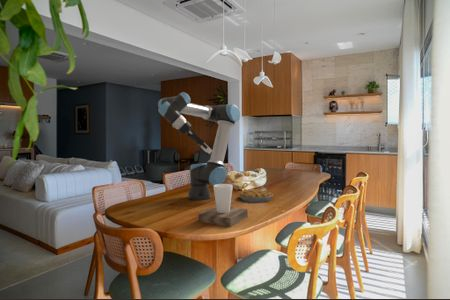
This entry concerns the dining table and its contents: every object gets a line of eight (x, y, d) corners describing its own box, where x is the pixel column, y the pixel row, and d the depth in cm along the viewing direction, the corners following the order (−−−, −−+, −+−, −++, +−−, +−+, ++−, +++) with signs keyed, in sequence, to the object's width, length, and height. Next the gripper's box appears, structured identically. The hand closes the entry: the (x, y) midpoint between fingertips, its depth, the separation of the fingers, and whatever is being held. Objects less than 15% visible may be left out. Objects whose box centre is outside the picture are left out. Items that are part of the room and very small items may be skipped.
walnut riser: (198, 221, 142) (198, 213, 142) (217, 212, 157) (217, 205, 157) (230, 226, 133) (230, 218, 133) (247, 216, 148) (247, 209, 148)
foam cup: (219, 214, 139) (218, 187, 138) (210, 210, 147) (210, 184, 146) (236, 212, 143) (235, 186, 142) (227, 207, 151) (227, 183, 151)
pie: (278, 201, 183) (278, 193, 182) (246, 204, 176) (246, 196, 176) (263, 194, 203) (263, 187, 203) (234, 197, 197) (234, 189, 196)
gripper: (177, 130, 173) (202, 154, 176) (177, 129, 148) (207, 158, 152) (185, 121, 174) (211, 146, 177) (188, 119, 149) (217, 147, 153)
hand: (209, 151), depth 164 cm, fingers open, 13 cm apart
